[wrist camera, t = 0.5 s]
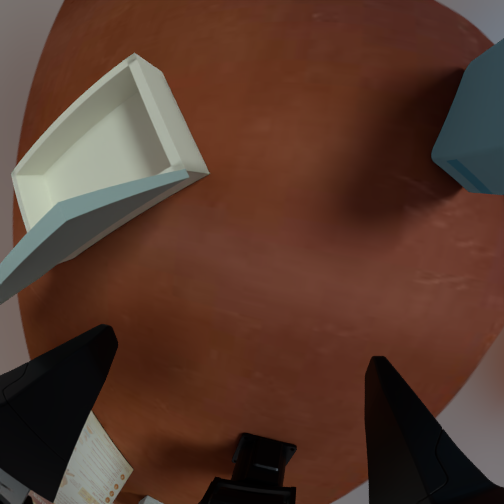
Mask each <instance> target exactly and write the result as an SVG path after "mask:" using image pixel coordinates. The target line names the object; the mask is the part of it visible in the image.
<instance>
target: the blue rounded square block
mask: <svg viewBox="0 0 504 504" xmlns="http://www.w3.org/2000/svg"><path fill="white" fill-rule="evenodd" d="M431 158H432V160H433V162H435V163H436V164H437V165H438V166H439V167H441V168H442V169H443V170H444V171H445V172H447V173H448V174H449V175H450V176H451V177H453V178H454V179H455V180H456V181H457V182H458V183H459V184H461V185H462V186H463V187H464V188H465V189H466V190H467V191H468V192H472V193H486V194H497V195H504V39H503V40H501V41H499V42H498V43H497V44H495V45H494V46H492V47H491V48H490V49H488V50H487V51H485V52H484V53H483V54H481V55H480V56H478V57H477V58H476V59H474V60H473V61H472V62H471V63H470V64H469V65H468V67H467V68H466V70H465V72H464V74H463V77H462V79H461V82H460V85H459V88H458V90H457V93H456V95H455V98H454V101H453V103H452V106H451V108H450V110H449V113H448V115H447V118H446V120H445V122H444V125H443V127H442V129H441V131H440V134H439V136H438V138H437V140H436V142H435V145H434V147H433V149H432V153H431Z"/></svg>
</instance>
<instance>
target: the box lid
mask: <svg viewBox="0 0 504 504" xmlns="http://www.w3.org/2000/svg"><path fill="white" fill-rule="evenodd" d="M187 178H189V175H188V173H187V171H186V169H183V170H178V171H173V172H168V173H164V174H159V175H155V176H151V177H146V178H142V179H138V180H134V181H130V182H126V183H122V184H119V185H115V186H111V187H107V188H104V189H100V190H97V191H93V192H90V193H86V194H83V195H80V196H77V197H73V198H70V199H67V200H64V201H61V202H58V203H57V204H56V205H55V206H54V207H53V208H52V209H51V210H50V211H48V212H47V213H46V214H45V215H44V216H43V217H42V218H41V219H40V220H39V221H38V222H37V224H36V225H35V226H34V227H33V228H32V229H31V230H30V231H29V232H28V233H27V234H26V235H25V236H24V237H23V238H22V239H21V241H20V242H19V243H18V244H17V245H16V246H15V247H14V248H13V250H12V251H11V252H10V253H9V254H8V255H7V257H6V258H5V259H4V260H3V261H2V263H1V264H0V305H1V304H2V303H4V302H5V301H7V300H8V299H9V298H11V297H12V296H14V295H15V294H17V293H18V292H20V291H21V290H22V289H24V288H25V287H27V286H28V285H30V284H31V283H33V282H34V281H36V280H37V279H39V278H40V277H42V276H43V275H44V274H45V273H47V272H48V271H49V270H50V269H52V268H53V267H54V266H56V265H57V264H58V263H59V262H61V261H62V260H63V259H65V258H66V257H67V256H69V255H70V254H71V253H73V252H74V251H76V250H77V249H78V248H80V247H81V246H82V245H84V244H85V243H87V242H88V241H89V240H91V239H92V238H94V237H95V236H97V235H98V234H99V233H101V232H102V231H104V230H105V229H107V228H108V227H110V226H111V225H113V224H114V223H116V222H117V221H119V220H120V219H122V218H123V217H125V216H126V215H128V214H129V213H131V212H133V211H134V210H136V209H137V208H139V207H140V206H142V205H144V204H145V203H147V202H148V201H150V200H152V199H153V198H155V197H157V196H158V195H160V194H162V193H163V192H165V191H167V190H168V189H170V188H172V187H173V186H175V185H177V184H179V183H180V182H182V181H184V180H186V179H187Z"/></svg>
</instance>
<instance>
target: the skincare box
mask: <svg viewBox="0 0 504 504" xmlns="http://www.w3.org/2000/svg"><path fill="white" fill-rule="evenodd" d="M138 504H163V503H161V502H159V501H157V500H155V499H153V498H152V497H150V496H146V497H145V498H143V499H142V500H140V502H139V503H138Z"/></svg>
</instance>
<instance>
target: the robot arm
mask: <svg viewBox="0 0 504 504" xmlns="http://www.w3.org/2000/svg"><path fill="white" fill-rule="evenodd" d="M117 348H118V341H117V338H116V336H115V333H114V330H113V328H112V327H111V326H110V325H105V324H100V325H98V326H96V327H94V328H92V329H91V330H89V331H87V332H85V333H83V334H81V335H79V336H77V337H75V338H73V339H71V340H69V341H67V342H65V343H64V344H62V345H60V346H58V347H56V348H54V349H52V350H50V351H48V352H46V353H44V354H42V355H41V356H39V357H37V358H35V359H33V360H31V361H29V362H27V363H25V364H23V365H21V366H19V367H17V368H15V369H14V370H11V371H9V372H7V373H4V374H2V375H0V504H33V500H32V497H31V496H30V495H28V494H29V492H30V490H32V491H33V492H35V493H36V494H38V495H40V496H41V497H43V498H45V499H46V500H48V501H50V502H51V503H53V502H54V500H55V498H56V495H57V492H58V489H59V487H60V484H61V481H62V479H63V476H64V473H65V471H66V468H67V466H68V463H69V460H70V458H71V456H72V453H73V451H74V448H75V446H76V444H77V441H78V439H79V437H80V434H81V432H82V430H83V427H84V425H85V423H86V421H87V418H88V416H89V414H90V412H91V410H92V408H93V405H94V403H95V401H96V399H97V397H98V395H99V393H100V391H101V388H102V386H103V384H104V382H105V380H106V377H107V375H108V372H109V369H110V367H111V364H112V361H113V359H114V356H115V354H116V351H117ZM365 432H366V444H367V459H368V478H369V504H504V487H500V486H498V485H496V484H494V483H493V482H491V481H490V480H489V479H488V478H487V477H486V476H485V475H484V474H483V473H482V472H481V471H480V470H479V469H478V468H477V467H476V466H475V465H474V464H473V463H472V462H471V461H470V460H469V459H468V458H467V457H466V456H465V455H464V453H463V452H462V451H461V450H460V449H459V448H458V447H457V446H456V444H455V443H454V442H453V441H452V439H451V438H450V437H449V436H448V434H447V433H446V432H445V430H444V429H442V427H441V425H440V424H439V423H438V422H437V420H436V419H435V418H434V416H433V415H432V414H431V413H430V411H429V410H428V409H427V408H426V406H425V405H424V404H423V403H422V401H421V400H420V399H419V398H418V396H417V395H416V394H415V393H414V391H413V390H412V389H411V388H410V386H409V385H408V384H407V383H406V381H405V380H404V379H403V378H402V377H401V375H400V374H399V373H398V372H397V370H396V369H395V368H394V367H393V366H392V364H391V363H390V362H389V361H388V360H387V358H386V357H384V356H373V357H372V358H371V360H370V362H369V365H368V368H367V371H366V374H365ZM296 450H297V446H296V445H293V444H288V443H283V442H279V441H275V440H270V439H266V438H262V437H259V436H255V435H251V434H248V433H244V434H242V437H241V439H240V441H239V444H238V446H237V449H236V451H235V453H234V456H233V458H232V462H233V463H236V464H235V468H234V471H233V474H232V478H231V480H227V479H221V478H220V477H215V478H214V480H213V481H212V482H211V483H210V486H209V487H208V489H207V491H206V493H205V495H204V497H203V498H202V500H201V501H200V502H199V503H198V504H295V499H296V487H283V480H284V473H285V466H286V465H287V463H288V462H289V461H290V459H291V458H292V456H293V455H294V453H295V452H296Z"/></svg>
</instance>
